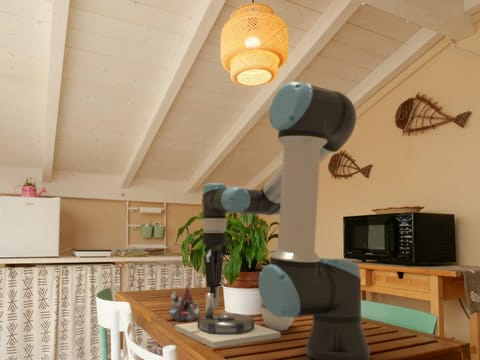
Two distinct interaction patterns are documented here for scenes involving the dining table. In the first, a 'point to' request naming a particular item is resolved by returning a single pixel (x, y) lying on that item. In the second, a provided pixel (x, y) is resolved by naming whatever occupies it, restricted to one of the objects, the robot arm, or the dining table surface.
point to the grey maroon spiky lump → (184, 307)
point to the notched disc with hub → (223, 320)
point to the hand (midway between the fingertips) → (213, 308)
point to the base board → (227, 335)
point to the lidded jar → (275, 320)
